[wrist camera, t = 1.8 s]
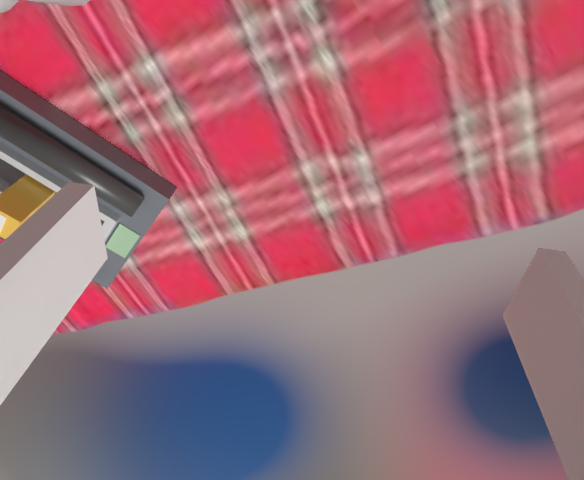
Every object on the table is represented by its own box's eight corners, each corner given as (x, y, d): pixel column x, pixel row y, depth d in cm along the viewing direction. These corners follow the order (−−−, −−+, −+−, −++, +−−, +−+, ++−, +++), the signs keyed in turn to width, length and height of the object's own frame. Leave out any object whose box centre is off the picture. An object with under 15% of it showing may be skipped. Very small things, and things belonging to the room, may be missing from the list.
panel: (-67, 170, 48) (-104, 192, 44) (-34, 47, 40) (-77, 60, 36) (116, 275, 54) (97, 302, 50) (176, 187, 46) (160, 211, 42)
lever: (19, 193, 45) (-22, 225, 40) (27, 172, 43) (-14, 204, 38) (47, 209, 46) (10, 243, 41) (56, 190, 44) (19, 223, 39)
